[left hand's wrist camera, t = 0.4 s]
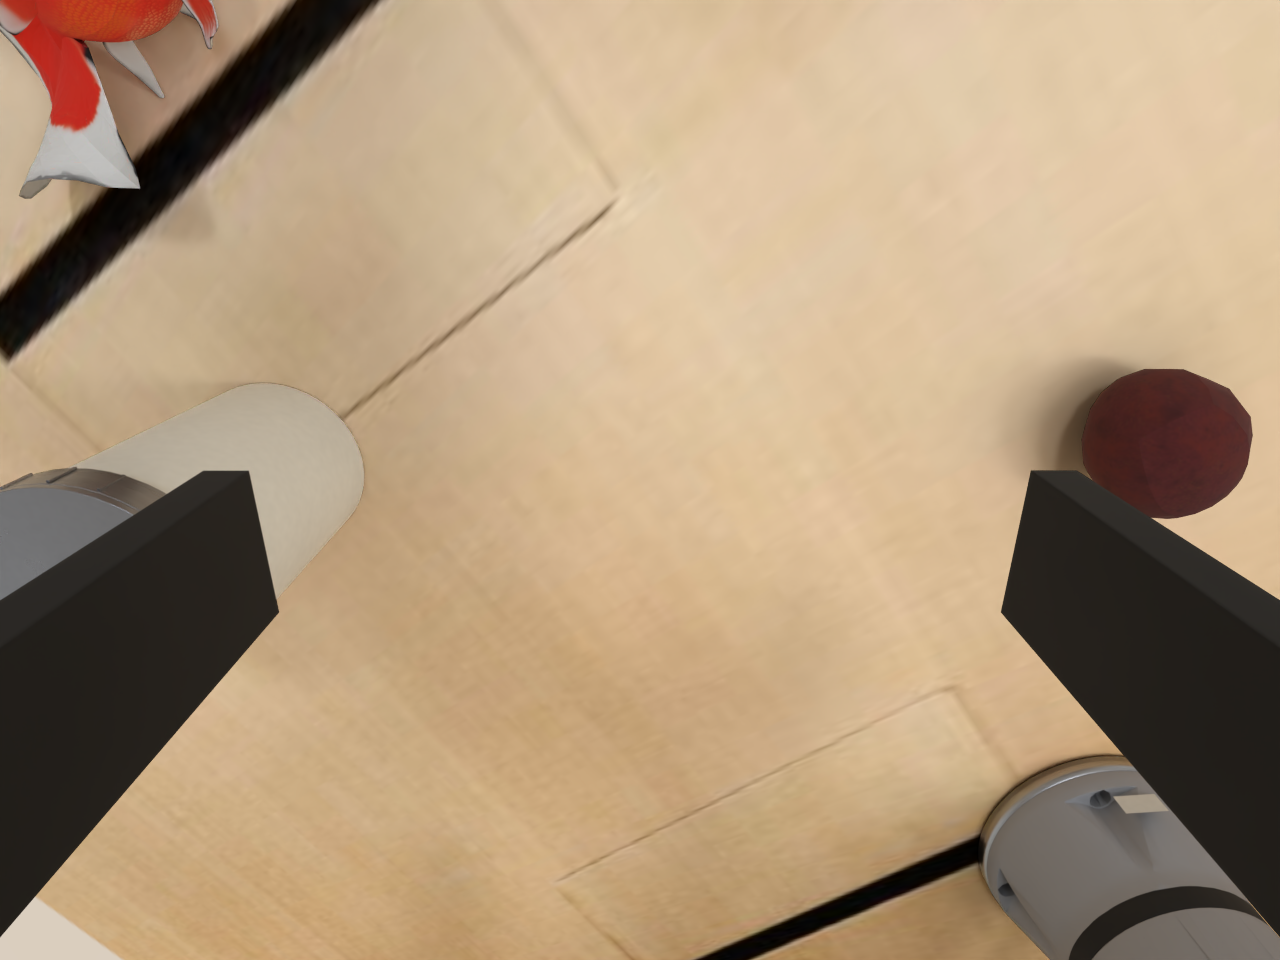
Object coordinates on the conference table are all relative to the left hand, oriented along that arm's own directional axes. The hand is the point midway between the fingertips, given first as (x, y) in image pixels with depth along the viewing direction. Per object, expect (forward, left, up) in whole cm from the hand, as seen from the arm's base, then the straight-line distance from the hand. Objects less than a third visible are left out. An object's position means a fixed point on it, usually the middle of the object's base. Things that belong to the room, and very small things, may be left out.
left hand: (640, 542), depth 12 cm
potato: (+6, +27, -28) cm, 39 cm away
